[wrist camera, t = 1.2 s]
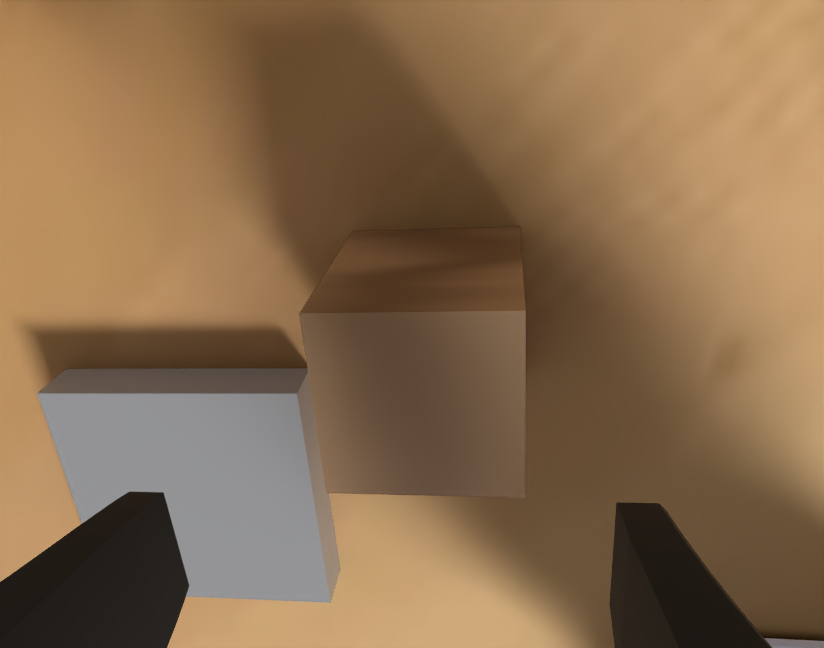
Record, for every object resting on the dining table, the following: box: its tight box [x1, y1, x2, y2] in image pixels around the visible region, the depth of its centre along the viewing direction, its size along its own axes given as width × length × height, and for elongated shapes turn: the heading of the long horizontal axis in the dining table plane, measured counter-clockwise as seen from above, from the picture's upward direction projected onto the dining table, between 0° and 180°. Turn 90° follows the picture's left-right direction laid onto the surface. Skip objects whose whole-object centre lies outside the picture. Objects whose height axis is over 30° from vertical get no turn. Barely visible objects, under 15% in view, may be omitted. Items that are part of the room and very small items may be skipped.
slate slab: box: [37, 368, 340, 603], centre depth 23 cm, size 8×8×2 cm
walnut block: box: [299, 226, 526, 498], centre depth 17 cm, size 4×4×6 cm
